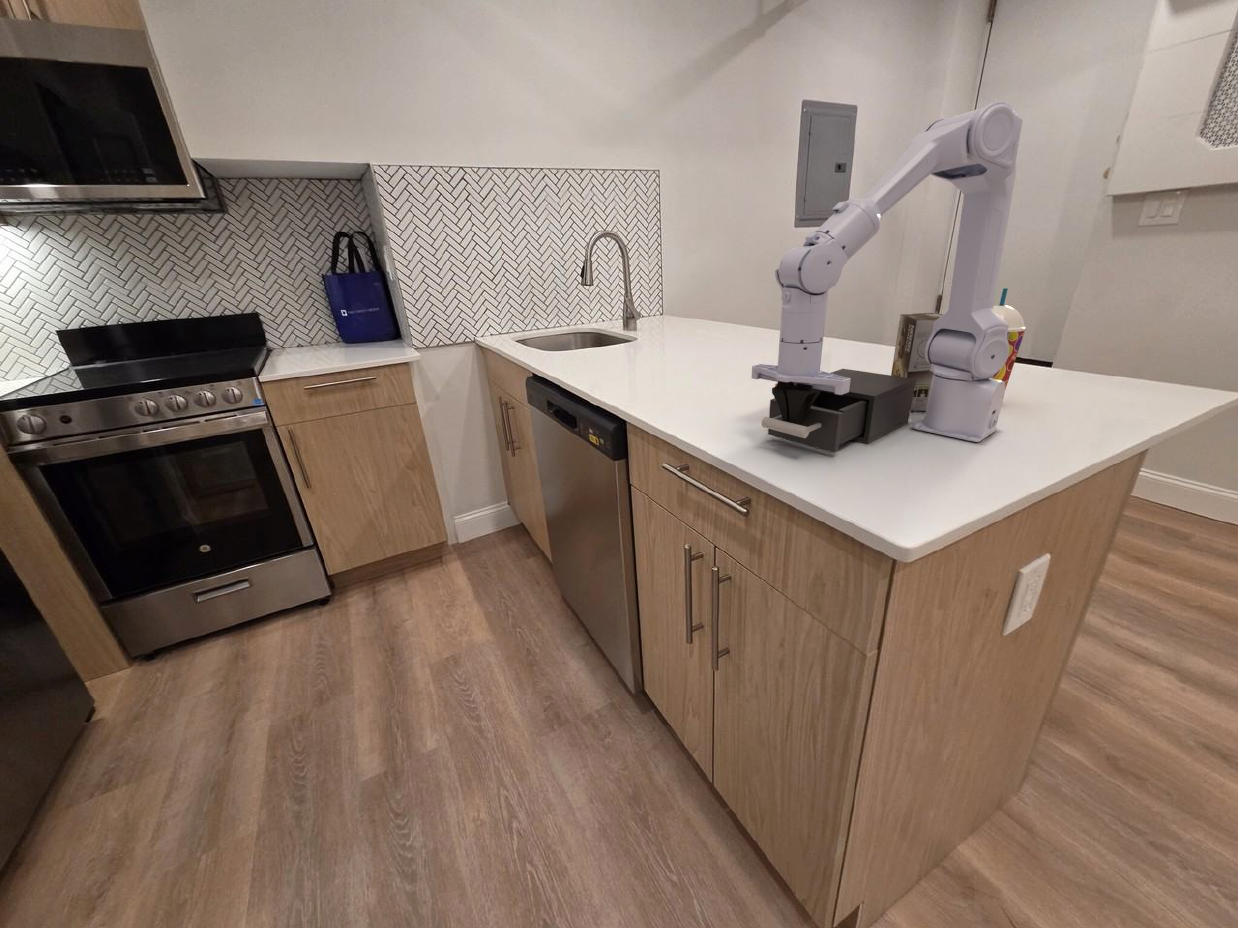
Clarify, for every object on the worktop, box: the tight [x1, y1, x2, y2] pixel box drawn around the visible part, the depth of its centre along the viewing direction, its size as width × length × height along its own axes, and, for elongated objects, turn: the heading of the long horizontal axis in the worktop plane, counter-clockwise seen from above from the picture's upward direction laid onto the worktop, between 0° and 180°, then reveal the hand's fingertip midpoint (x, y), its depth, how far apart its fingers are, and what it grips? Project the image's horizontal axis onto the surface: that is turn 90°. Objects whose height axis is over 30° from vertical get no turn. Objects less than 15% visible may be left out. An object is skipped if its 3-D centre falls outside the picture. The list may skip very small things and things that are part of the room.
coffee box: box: [890, 312, 944, 412], centre depth 91 cm, size 9×6×16 cm
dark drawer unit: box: [821, 368, 916, 445], centre depth 84 cm, size 14×13×8 cm
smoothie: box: [992, 287, 1027, 391], centre depth 89 cm, size 8×8×20 cm
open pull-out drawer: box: [760, 392, 869, 453], centre depth 78 cm, size 18×11×6 cm, turn 129°
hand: (792, 433), depth 75 cm, fingers closed, pressing on open pull-out drawer
